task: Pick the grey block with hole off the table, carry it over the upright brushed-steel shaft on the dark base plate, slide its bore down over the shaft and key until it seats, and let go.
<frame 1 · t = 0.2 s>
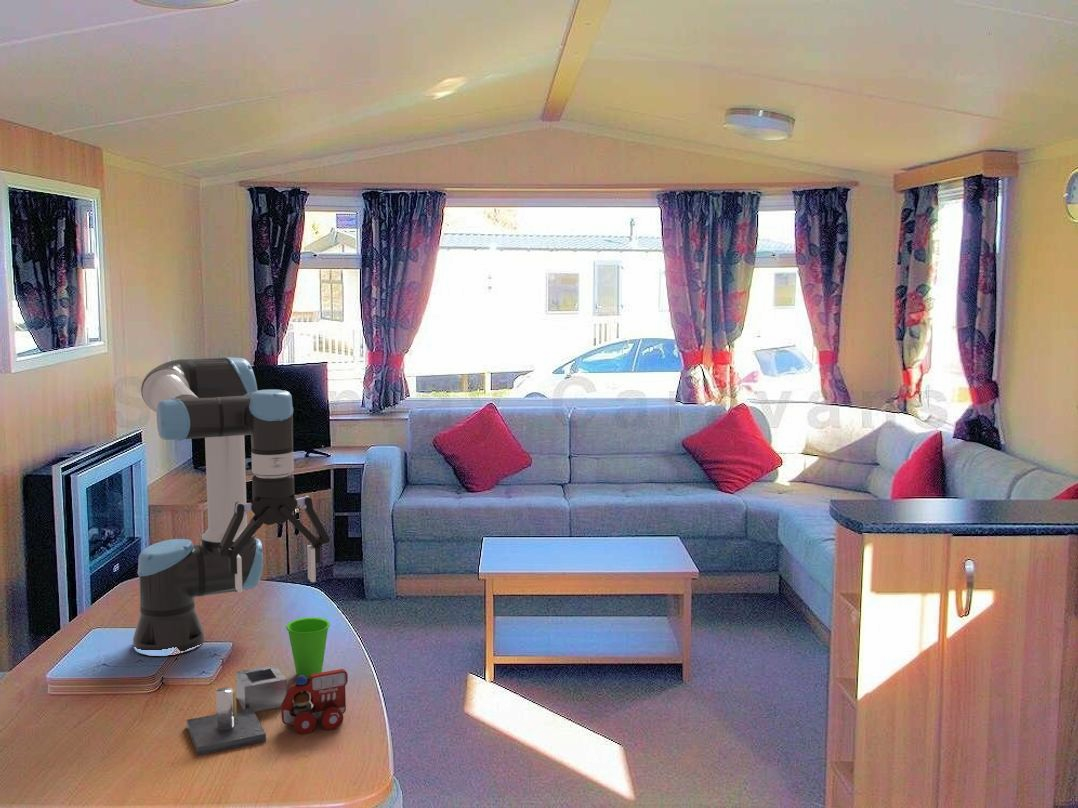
hand: (275, 585, 191), 27 cm above the table, fingers open, 13 cm apart
cup: (309, 675, 216), on the table
grey block with hole: (261, 701, 203), on the table
toy fire truck: (315, 725, 194), on the table
shaft stand: (225, 734, 189), on the table
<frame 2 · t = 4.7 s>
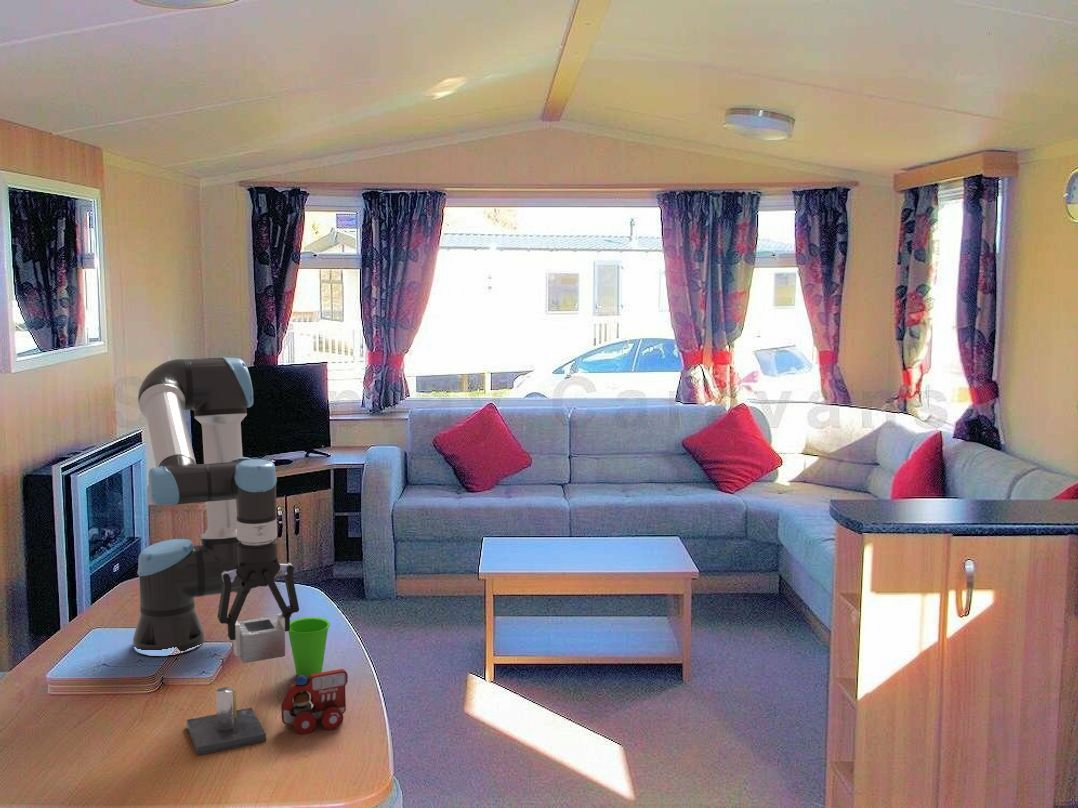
hand: (259, 650, 202), 10 cm above the table, fingers closed on grey block with hole, 8 cm apart
grey block with hole: (259, 652, 202), point 10 cm above the table, touching gripper
everything else where it was.
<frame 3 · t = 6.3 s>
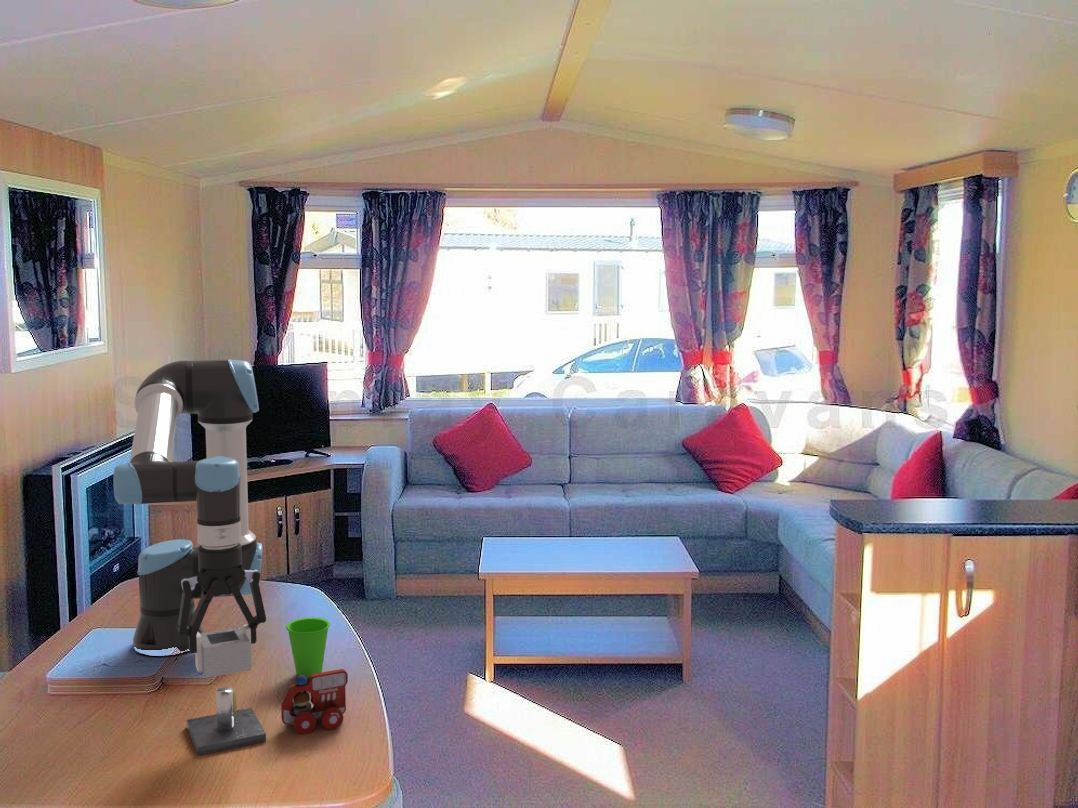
hand: (223, 664, 187), 14 cm above the table, fingers closed on grey block with hole, 8 cm apart
grey block with hole: (223, 666, 187), point 13 cm above the table, touching gripper
everything else where it was.
when the fingers open (2 cm above the table, at t = 8.5 s): grey block with hole stays where it is, resting on shaft stand.
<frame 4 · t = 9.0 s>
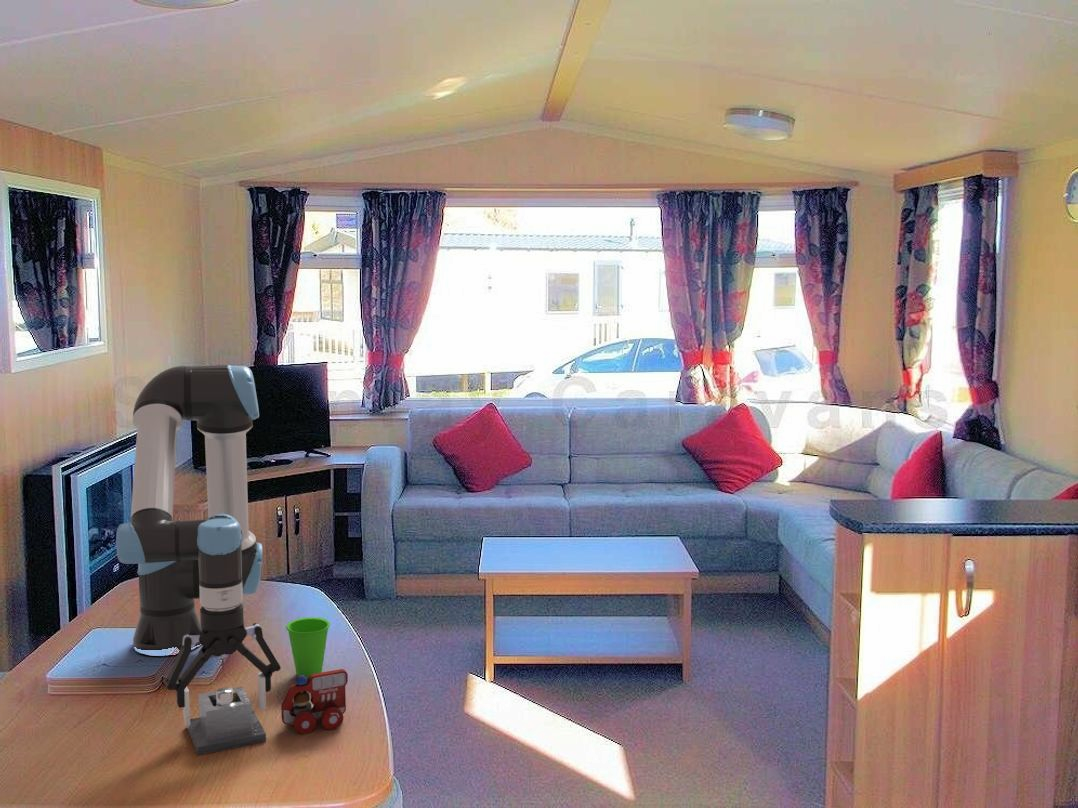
hand: (225, 715, 188), 4 cm above the table, fingers open, 13 cm apart
grey block with hole: (225, 726, 189), point 1 cm above the table, touching shaft stand
everything else where it was.
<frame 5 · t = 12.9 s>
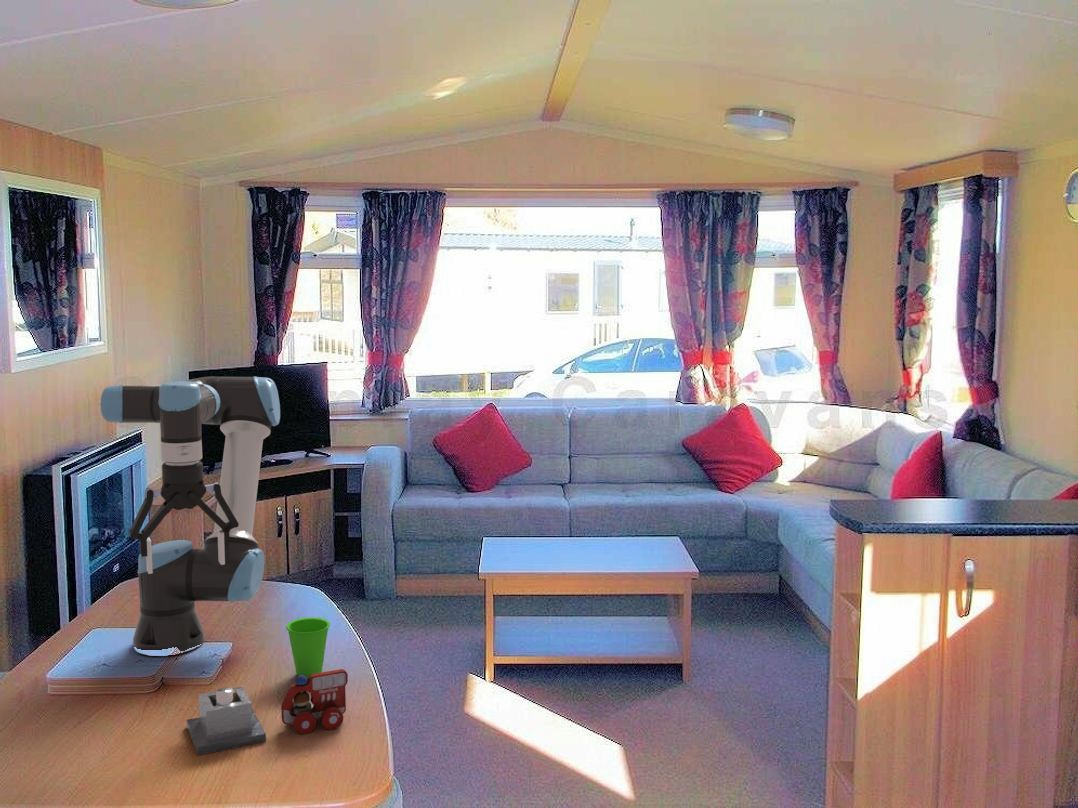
hand: (186, 567, 201), 27 cm above the table, fingers open, 13 cm apart
nothing on the table moved.
at the end: grey block with hole 0.0 cm off-centre on the shaft stand, point 1.5 cm above the shaft stand's base; grey block with hole tilted 0°; the gripper is holding nothing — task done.
